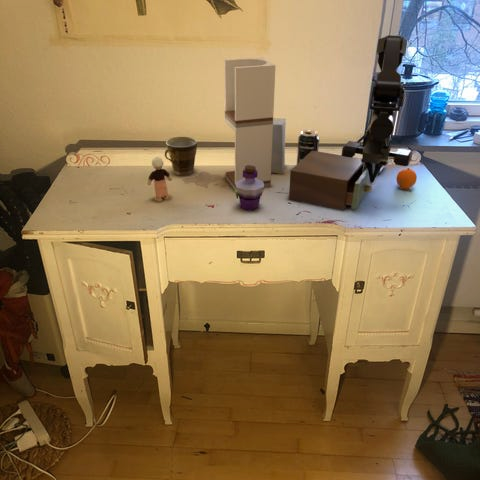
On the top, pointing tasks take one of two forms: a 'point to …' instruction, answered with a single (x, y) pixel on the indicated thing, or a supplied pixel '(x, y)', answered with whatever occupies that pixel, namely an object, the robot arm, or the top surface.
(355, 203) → the drawer
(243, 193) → the potion bottle
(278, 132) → the cosmetic box
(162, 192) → the grandmother figurine
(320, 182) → the cabinet
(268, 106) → the white tower
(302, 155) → the beverage can
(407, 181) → the orange
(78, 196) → the top surface
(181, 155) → the ceramic cup
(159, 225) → the top surface
